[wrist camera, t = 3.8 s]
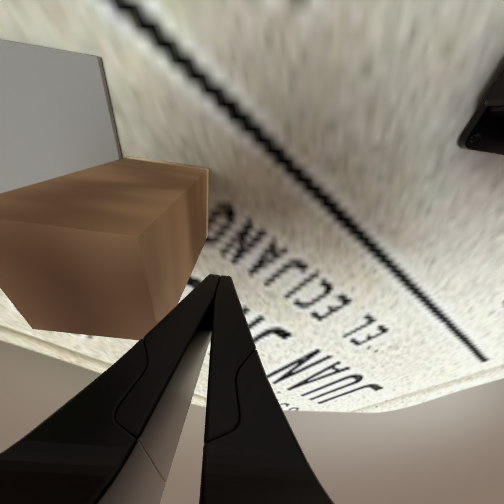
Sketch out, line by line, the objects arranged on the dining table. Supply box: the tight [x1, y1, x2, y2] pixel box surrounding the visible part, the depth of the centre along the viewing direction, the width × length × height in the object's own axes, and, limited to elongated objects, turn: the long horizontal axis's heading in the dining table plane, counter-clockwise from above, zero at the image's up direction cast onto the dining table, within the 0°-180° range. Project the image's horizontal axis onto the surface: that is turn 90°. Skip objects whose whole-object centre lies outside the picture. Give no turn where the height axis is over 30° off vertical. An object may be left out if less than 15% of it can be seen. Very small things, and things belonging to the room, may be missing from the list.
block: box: [0, 156, 209, 340], centre depth 10 cm, size 5×5×9 cm
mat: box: [0, 40, 122, 193], centre depth 13 cm, size 12×14×1 cm
